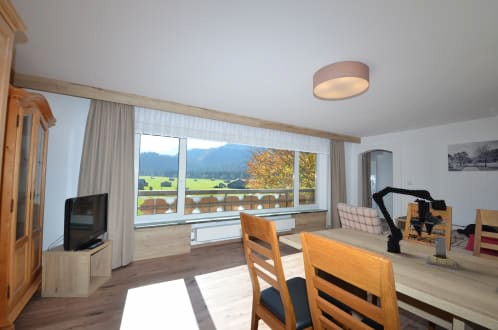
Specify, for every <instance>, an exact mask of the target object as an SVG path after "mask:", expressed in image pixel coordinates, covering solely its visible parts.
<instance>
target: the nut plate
mask: <svg viewBox="0 0 498 330" xmlns="http://www.w3.org/2000/svg"><path fill="white" fill-rule="evenodd" d="M426 263H427V264H428V265H432V266H438V267H442V268H447V269H448V268H449V269H451V270H453V269H454V270H458V266H457V262H456V260H455V259H454V257H452V256H449V255H446V259H441V258H437V257H436V253H429V255H428V256H427V259H426Z"/></svg>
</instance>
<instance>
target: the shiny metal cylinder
mask: <svg viewBox="0 0 498 330" xmlns="http://www.w3.org/2000/svg"><path fill="white" fill-rule="evenodd" d="M446 240H447V239H446V237H443V236H438V235H437V236H435V237H434V241H435V242H434V243H435V247H434V248H435V254H436V257H437V258H441V259H446V256H447V243H446V242H447V241H446Z"/></svg>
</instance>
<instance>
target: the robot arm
mask: <svg viewBox="0 0 498 330" xmlns="http://www.w3.org/2000/svg"><path fill="white" fill-rule="evenodd" d="M391 193H392V194H397V195H398V194H399V195H405V196H411V197H415V198H416V199H415V200H414V201H413V202H414V203H417V210H416V213H417V216H418V217H416V218H412V219H410V220H409V224H410V225H411V226H412V227H413V228H414V230H415V232H416V233H417V235H418V237H422V236H423V228H424V227H425V230H426V232H427V235H428V236H431V235H432V232H433V229H434V227H435V226H438V225H441V223H442V222H444V219H443V216H442V215H440V214H439V215H433V212H432V211H435V212H447V208H448V207H447V204H446V202H445V201H446V200H444V199H434V198H433V197H432V195H431V193H430V191H429V190H426V189H405V188H399V187H392V186H385V187H384V188H383V189H380V190H379V191H376V192H373V193H372V194H371V199H372V200H373V201H374V202H375V204H376V205H377V206H378V209H379V210H380V212H381V215H382V216H383V218H384V220H385V222H386V224H387V227H388V229H389V234H388V235H387V237H386V238H387V241H386V245H387V250H386V252H389V253H395V254H397V255H398V254H400V253H401V244H400V242H401V241H402V240H403V238H404V233H403V232H402V230H401V228H400V227H399V226H397V225H396V224H395V222H394V221H393V219H392V217H391V215H390V212H389V211H388V209H387V207H386V205H385V201H384V197H386V196H387V195H388V194H391ZM430 209H432V211H431V210H430Z"/></svg>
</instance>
